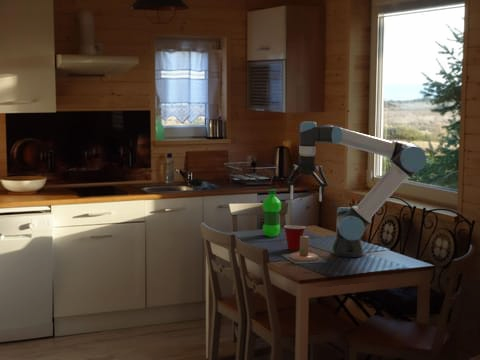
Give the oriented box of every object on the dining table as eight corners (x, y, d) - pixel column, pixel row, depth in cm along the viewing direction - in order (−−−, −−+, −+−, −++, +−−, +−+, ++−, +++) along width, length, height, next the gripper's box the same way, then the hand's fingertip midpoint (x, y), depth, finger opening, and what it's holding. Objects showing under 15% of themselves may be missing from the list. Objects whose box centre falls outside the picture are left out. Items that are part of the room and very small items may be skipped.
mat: (327, 262, 360) (327, 261, 360) (295, 264, 355) (295, 263, 355) (311, 253, 377) (311, 252, 377) (281, 255, 372) (281, 254, 372)
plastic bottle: (258, 234, 420) (260, 188, 416) (277, 233, 423) (278, 188, 420) (265, 238, 410) (266, 191, 407) (283, 237, 413) (284, 191, 410)
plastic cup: (304, 247, 390) (305, 224, 389) (304, 252, 380) (305, 228, 378) (283, 246, 391) (284, 223, 390) (282, 251, 381) (283, 227, 379)
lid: (323, 258, 366) (324, 237, 365) (305, 262, 357) (306, 241, 355) (301, 253, 375) (302, 232, 373) (284, 257, 366) (285, 236, 364)
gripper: (335, 155, 360) (333, 200, 363) (282, 153, 366) (281, 197, 368) (333, 156, 353) (331, 202, 356) (279, 154, 358) (278, 199, 361)
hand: (305, 200), depth 362 cm, fingers open, 13 cm apart
